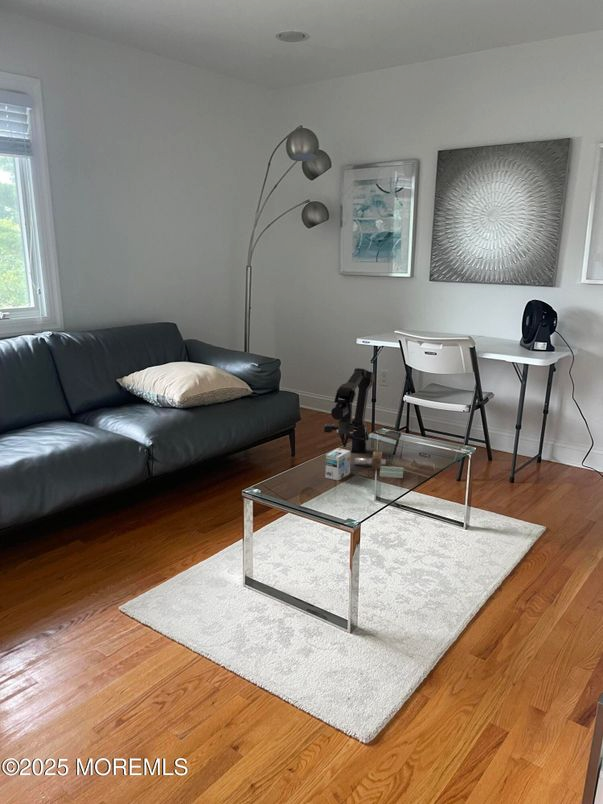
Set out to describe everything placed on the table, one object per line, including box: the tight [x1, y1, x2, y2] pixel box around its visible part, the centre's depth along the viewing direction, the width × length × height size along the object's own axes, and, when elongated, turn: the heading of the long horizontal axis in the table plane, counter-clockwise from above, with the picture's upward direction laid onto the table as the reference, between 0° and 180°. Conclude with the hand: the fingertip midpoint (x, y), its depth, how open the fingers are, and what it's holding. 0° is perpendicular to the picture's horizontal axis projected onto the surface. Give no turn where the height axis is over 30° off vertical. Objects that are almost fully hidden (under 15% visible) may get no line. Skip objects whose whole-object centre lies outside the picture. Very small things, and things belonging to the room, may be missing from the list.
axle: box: [354, 457, 387, 467], centre depth 280 cm, size 14×4×4 cm, turn 80°
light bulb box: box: [325, 447, 352, 481], centre depth 266 cm, size 11×7×11 cm, turn 146°
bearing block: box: [371, 451, 383, 470], centre depth 279 cm, size 4×10×5 cm, turn 170°
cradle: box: [379, 465, 404, 479], centre depth 270 cm, size 10×8×2 cm
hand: (344, 446), depth 281 cm, fingers closed
